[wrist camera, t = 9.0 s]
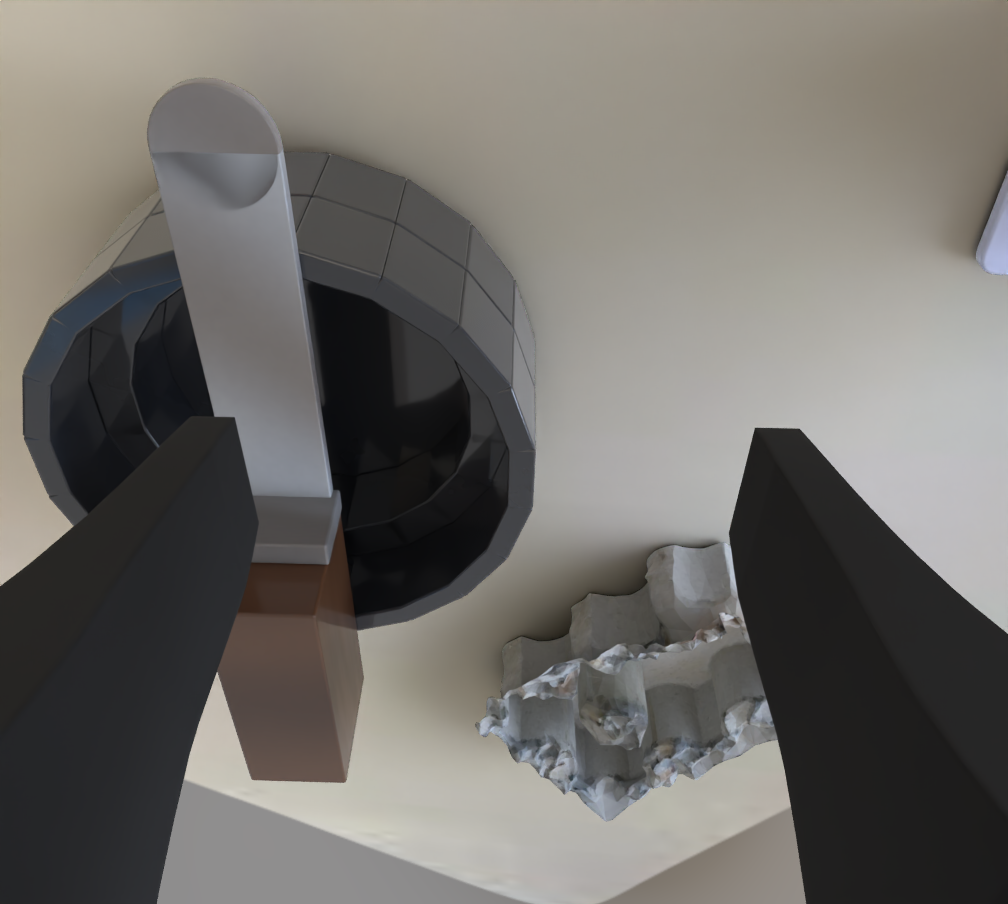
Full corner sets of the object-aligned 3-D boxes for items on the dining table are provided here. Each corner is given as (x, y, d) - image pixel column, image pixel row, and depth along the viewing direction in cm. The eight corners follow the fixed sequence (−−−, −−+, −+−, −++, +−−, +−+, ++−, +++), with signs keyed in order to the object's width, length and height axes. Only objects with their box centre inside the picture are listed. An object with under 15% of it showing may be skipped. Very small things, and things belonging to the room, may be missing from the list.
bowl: (543, 148, 20) (545, 253, 16) (527, 507, 27) (526, 638, 24) (47, 136, 20) (-64, 238, 16) (162, 497, 28) (103, 626, 24)
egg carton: (710, 510, 27) (734, 615, 24) (835, 627, 31) (870, 733, 28) (462, 654, 32) (455, 757, 29) (595, 742, 36) (602, 842, 33)
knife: (366, 676, 25) (348, 783, 22) (276, 674, 25) (248, 781, 22) (282, 78, 14) (233, 157, 12) (128, 74, 14) (46, 152, 12)
